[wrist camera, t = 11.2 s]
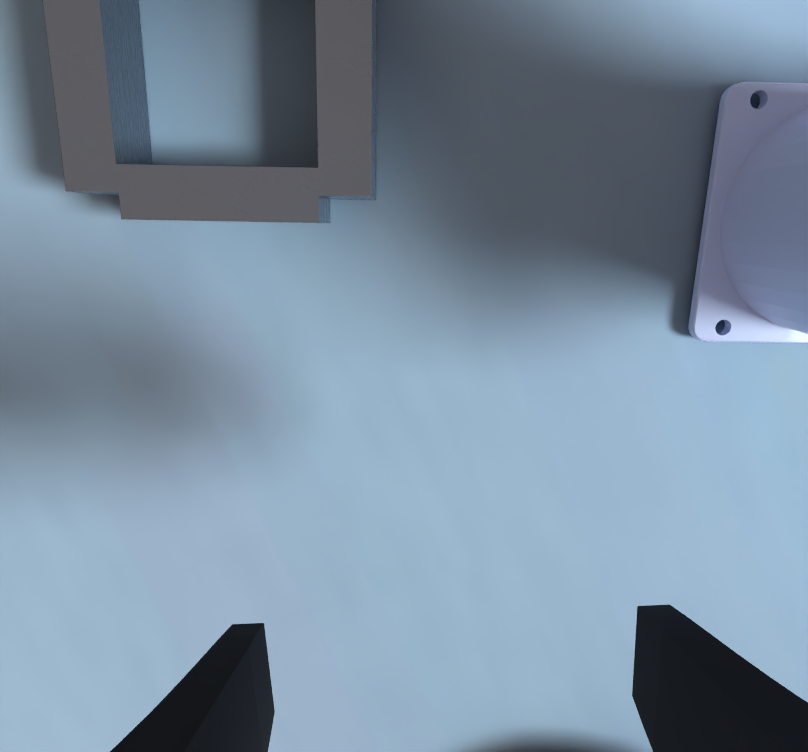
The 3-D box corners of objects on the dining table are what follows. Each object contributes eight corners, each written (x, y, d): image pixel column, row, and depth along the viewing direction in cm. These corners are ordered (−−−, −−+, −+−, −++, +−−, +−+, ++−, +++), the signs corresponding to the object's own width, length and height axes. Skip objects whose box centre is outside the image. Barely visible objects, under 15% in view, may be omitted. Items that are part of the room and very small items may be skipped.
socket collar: (377, -84, 17) (372, -135, 15) (375, 223, 19) (371, 223, 17) (79, -90, 17) (25, -142, 15) (111, 219, 19) (68, 218, 17)
